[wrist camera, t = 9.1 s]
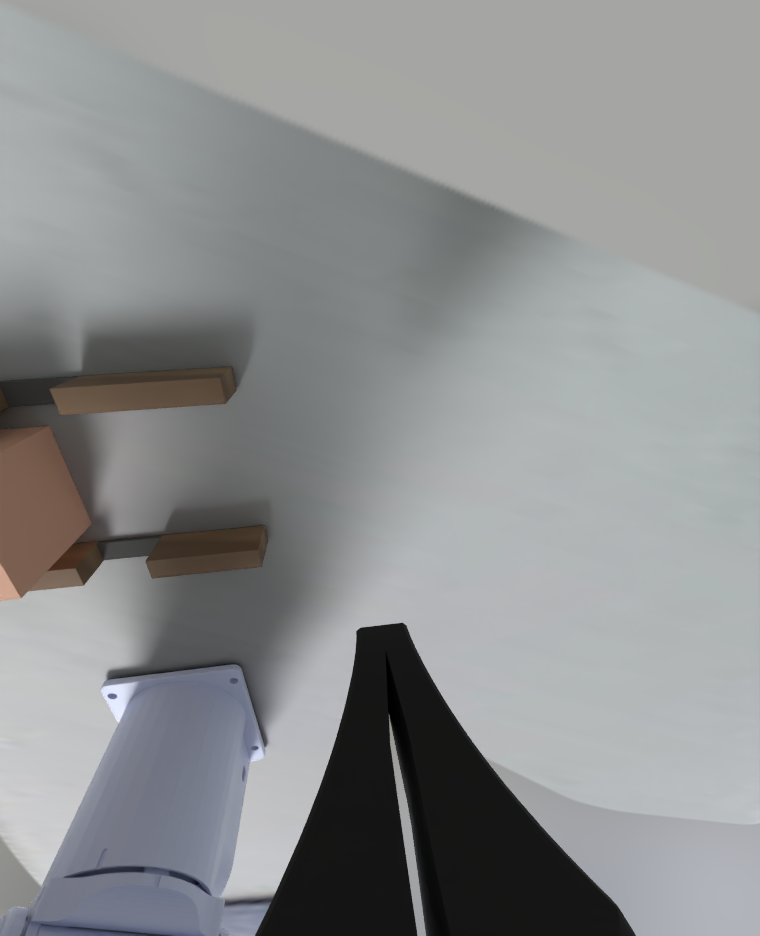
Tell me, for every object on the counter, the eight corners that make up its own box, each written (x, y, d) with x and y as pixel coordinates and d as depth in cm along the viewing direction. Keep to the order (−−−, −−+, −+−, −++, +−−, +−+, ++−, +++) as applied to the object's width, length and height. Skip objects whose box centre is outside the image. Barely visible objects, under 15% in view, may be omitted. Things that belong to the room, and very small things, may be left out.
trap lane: (267, 541, 21) (258, 581, 18) (-23, 570, 19) (-80, 617, 17) (231, 366, 17) (212, 384, 14) (-137, 389, 15) (-235, 414, 13)
